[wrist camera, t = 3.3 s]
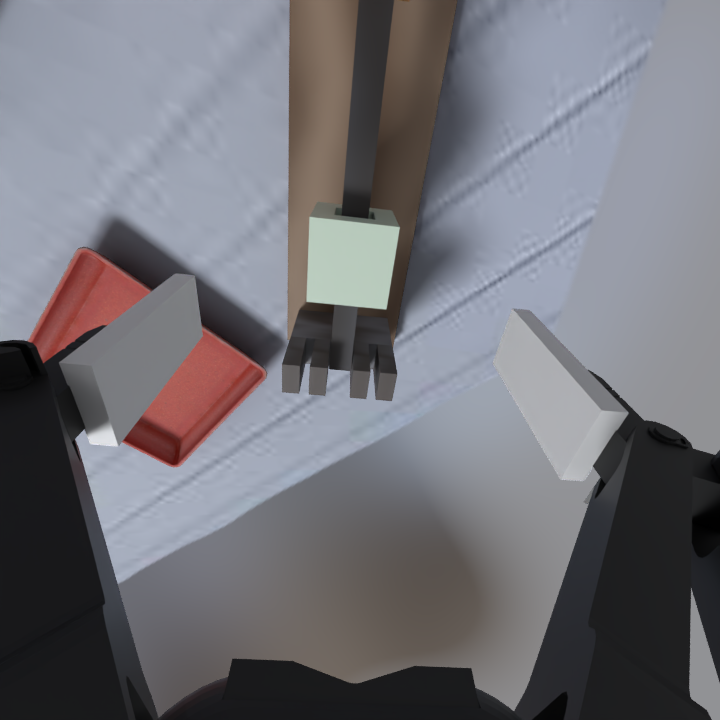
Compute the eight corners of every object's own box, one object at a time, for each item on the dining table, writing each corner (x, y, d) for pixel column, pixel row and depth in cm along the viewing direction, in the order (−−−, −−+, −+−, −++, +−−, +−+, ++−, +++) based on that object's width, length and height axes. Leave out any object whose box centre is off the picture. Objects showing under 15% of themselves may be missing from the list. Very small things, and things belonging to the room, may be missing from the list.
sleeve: (314, 274, 27) (306, 301, 22) (317, 201, 24) (309, 216, 20) (381, 281, 27) (386, 309, 23) (392, 210, 24) (400, 227, 20)
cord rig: (290, 332, 35) (268, 399, 27) (295, -161, 19) (245, -404, 11) (391, 341, 36) (403, 410, 27) (475, -127, 20) (571, -328, 11)
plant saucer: (102, 232, 31) (77, 242, 28) (277, 356, 37) (270, 375, 35) (29, 364, 37) (3, 383, 35) (188, 448, 44) (176, 470, 41)
